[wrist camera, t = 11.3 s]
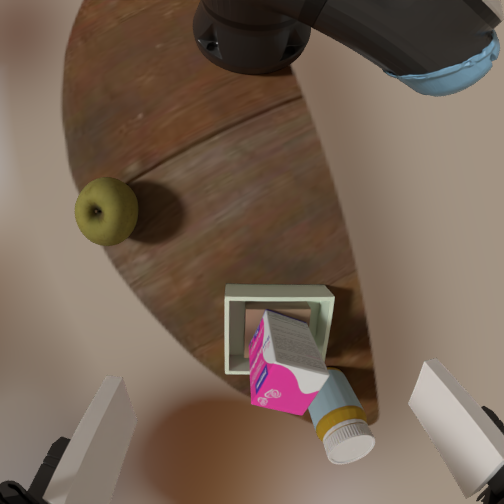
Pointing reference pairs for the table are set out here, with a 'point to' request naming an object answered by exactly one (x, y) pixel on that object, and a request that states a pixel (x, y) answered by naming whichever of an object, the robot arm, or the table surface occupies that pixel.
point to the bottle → (341, 420)
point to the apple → (106, 211)
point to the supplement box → (285, 364)
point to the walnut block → (257, 309)
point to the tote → (239, 293)
